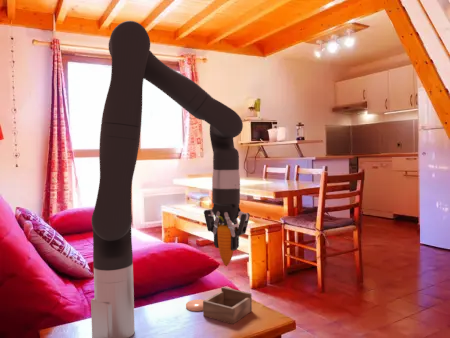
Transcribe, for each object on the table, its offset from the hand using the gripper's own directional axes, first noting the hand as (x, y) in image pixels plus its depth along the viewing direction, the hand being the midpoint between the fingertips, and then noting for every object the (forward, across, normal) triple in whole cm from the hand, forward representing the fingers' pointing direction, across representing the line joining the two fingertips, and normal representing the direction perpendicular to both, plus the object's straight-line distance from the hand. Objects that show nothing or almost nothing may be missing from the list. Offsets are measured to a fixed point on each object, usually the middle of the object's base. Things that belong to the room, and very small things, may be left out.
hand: (226, 248), depth 103 cm
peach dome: (+18, -10, 0) cm, 21 cm away
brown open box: (+18, 0, 0) cm, 18 cm away
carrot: (+5, 0, 0) cm, 5 cm away
